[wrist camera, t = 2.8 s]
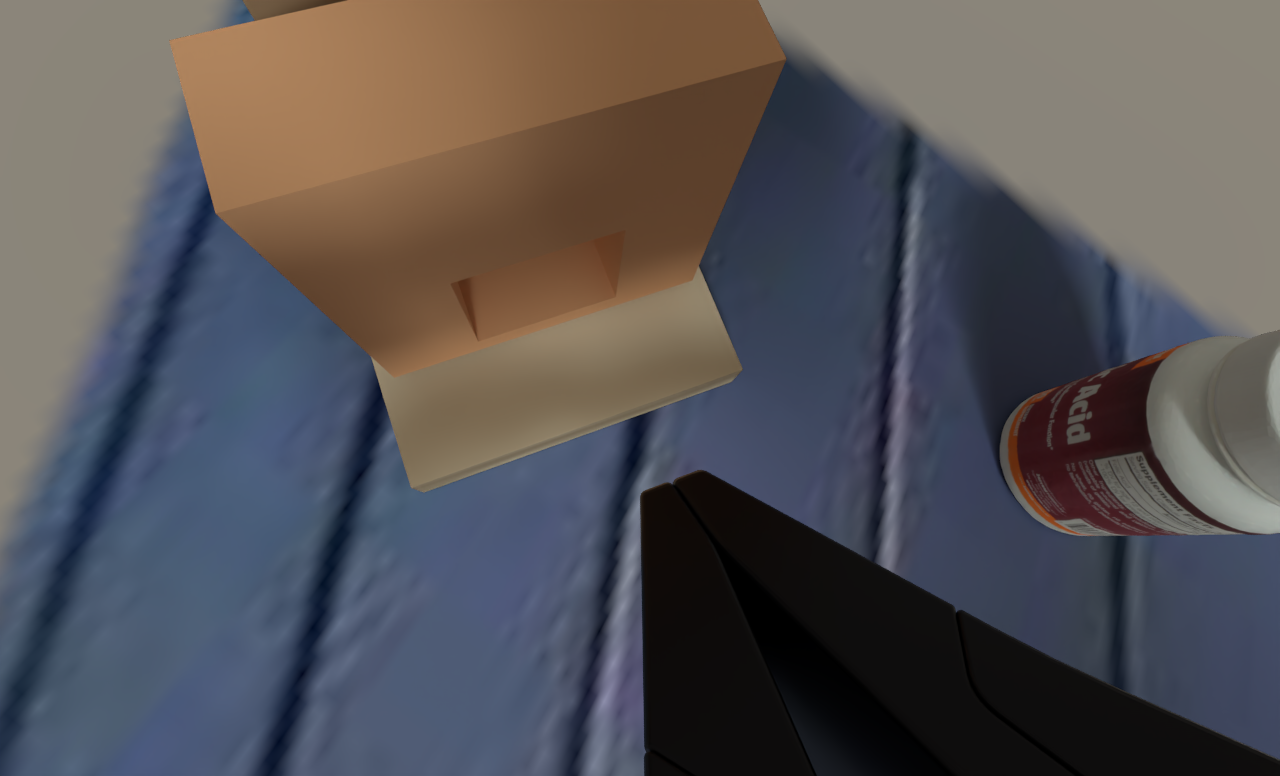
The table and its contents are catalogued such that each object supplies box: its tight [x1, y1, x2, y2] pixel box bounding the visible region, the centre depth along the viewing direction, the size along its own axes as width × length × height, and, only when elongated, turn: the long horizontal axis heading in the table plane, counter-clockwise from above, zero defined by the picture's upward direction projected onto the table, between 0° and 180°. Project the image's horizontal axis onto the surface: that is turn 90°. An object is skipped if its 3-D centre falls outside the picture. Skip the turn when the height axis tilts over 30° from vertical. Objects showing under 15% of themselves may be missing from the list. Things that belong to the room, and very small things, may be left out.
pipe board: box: [243, 0, 743, 492], centre depth 16 cm, size 13×10×10 cm
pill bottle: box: [1000, 330, 1280, 536], centre depth 17 cm, size 5×5×8 cm
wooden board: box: [170, 0, 786, 378], centre depth 15 cm, size 3×9×9 cm, turn 111°
